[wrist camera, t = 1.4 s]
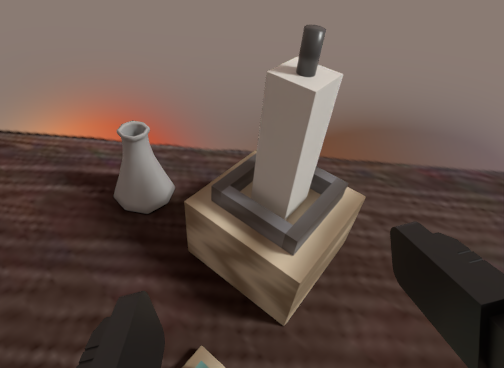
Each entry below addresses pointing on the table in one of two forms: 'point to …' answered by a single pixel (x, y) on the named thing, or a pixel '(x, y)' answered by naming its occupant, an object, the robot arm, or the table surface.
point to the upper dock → (269, 236)
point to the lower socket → (202, 360)
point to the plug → (293, 126)
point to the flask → (140, 172)
